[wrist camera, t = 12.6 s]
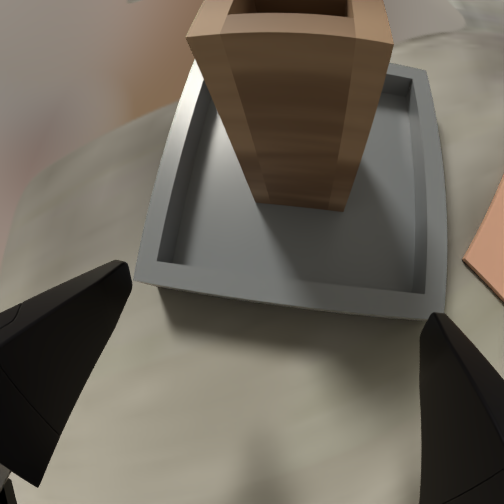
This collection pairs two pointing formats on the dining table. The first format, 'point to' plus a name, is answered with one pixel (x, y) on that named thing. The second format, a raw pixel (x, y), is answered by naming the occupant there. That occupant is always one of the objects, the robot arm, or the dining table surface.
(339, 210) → the sleeve
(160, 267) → the tray
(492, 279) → the pink square mat
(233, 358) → the dining table surface
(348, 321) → the dining table surface
